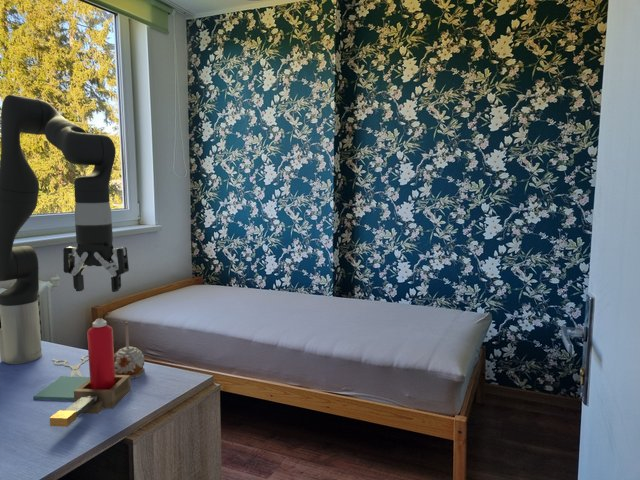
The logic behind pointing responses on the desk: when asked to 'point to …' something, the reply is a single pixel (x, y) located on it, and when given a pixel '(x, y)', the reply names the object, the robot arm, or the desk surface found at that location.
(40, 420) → the desk surface
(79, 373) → the scissors
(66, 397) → the coaster
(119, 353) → the caramel apple
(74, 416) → the lever
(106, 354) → the bottle
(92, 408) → the holder
